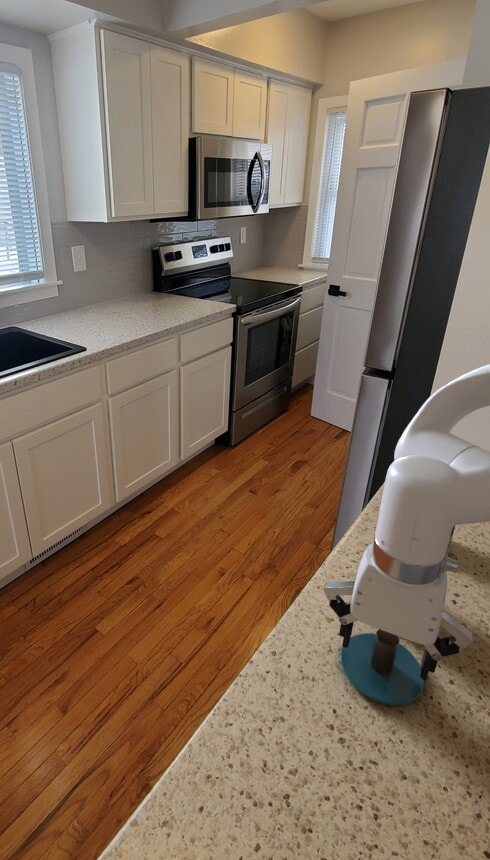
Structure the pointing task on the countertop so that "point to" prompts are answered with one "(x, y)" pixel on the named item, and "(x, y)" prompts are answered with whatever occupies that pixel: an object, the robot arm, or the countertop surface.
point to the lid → (382, 668)
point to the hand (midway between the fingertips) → (384, 654)
